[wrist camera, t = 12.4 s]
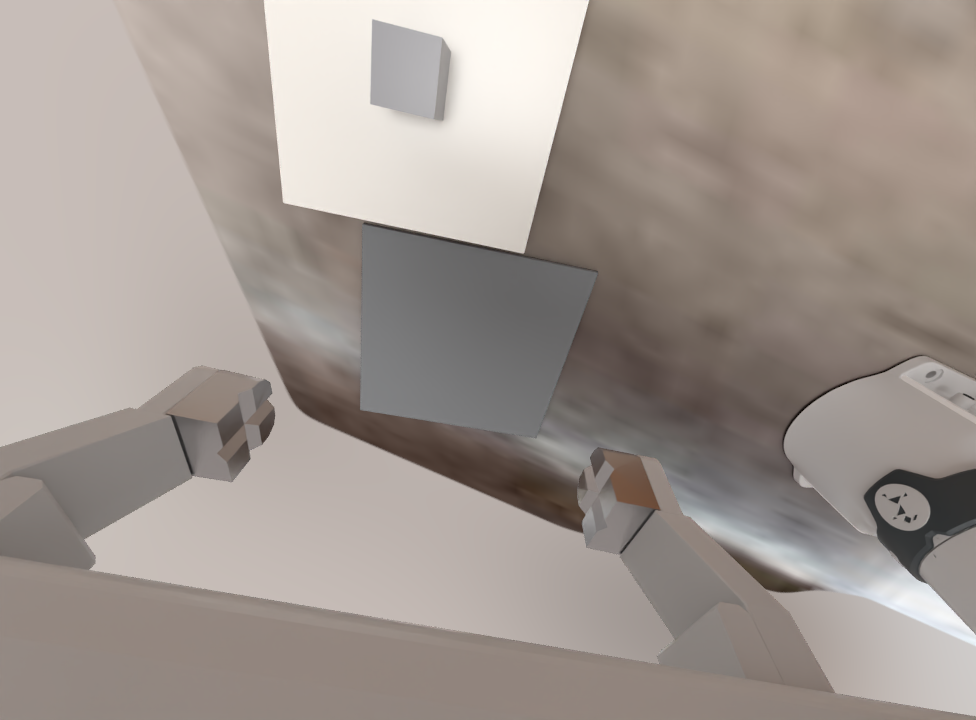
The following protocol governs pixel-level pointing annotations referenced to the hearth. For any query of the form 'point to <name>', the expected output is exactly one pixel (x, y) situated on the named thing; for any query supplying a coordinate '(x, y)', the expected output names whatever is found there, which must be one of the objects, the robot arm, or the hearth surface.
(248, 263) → the hearth surface
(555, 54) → the cover sheet
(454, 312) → the charcoal mat
